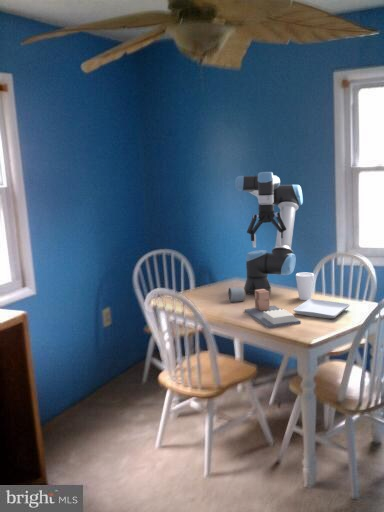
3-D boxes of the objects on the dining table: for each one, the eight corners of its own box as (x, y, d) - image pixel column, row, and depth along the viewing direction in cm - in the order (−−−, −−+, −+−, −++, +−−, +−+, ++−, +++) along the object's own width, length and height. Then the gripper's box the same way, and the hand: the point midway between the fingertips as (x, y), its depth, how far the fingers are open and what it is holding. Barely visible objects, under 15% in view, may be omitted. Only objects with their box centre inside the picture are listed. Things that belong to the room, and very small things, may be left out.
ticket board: (244, 311, 263) (244, 303, 262) (274, 307, 267) (274, 299, 266) (268, 328, 236) (267, 318, 235) (300, 323, 241) (300, 314, 240)
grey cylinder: (246, 302, 279) (245, 288, 278) (231, 303, 278) (230, 289, 277) (241, 297, 290) (240, 283, 288) (226, 298, 288) (226, 285, 287)
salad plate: (335, 322, 241) (335, 315, 240) (292, 316, 253) (291, 309, 252) (350, 310, 258) (350, 303, 257) (309, 305, 270) (309, 298, 269)
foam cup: (310, 301, 275) (310, 276, 273) (293, 299, 280) (293, 275, 277) (316, 296, 283) (316, 273, 281) (299, 295, 288) (299, 271, 285)
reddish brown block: (255, 307, 263) (254, 289, 262) (264, 306, 265) (264, 288, 263) (260, 310, 258) (259, 292, 256) (269, 309, 259) (269, 291, 257)
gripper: (245, 206, 255) (246, 249, 259) (292, 202, 262) (293, 244, 266) (239, 204, 262) (240, 247, 266) (285, 201, 269) (286, 242, 273)
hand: (267, 246), depth 266 cm, fingers open, 13 cm apart
